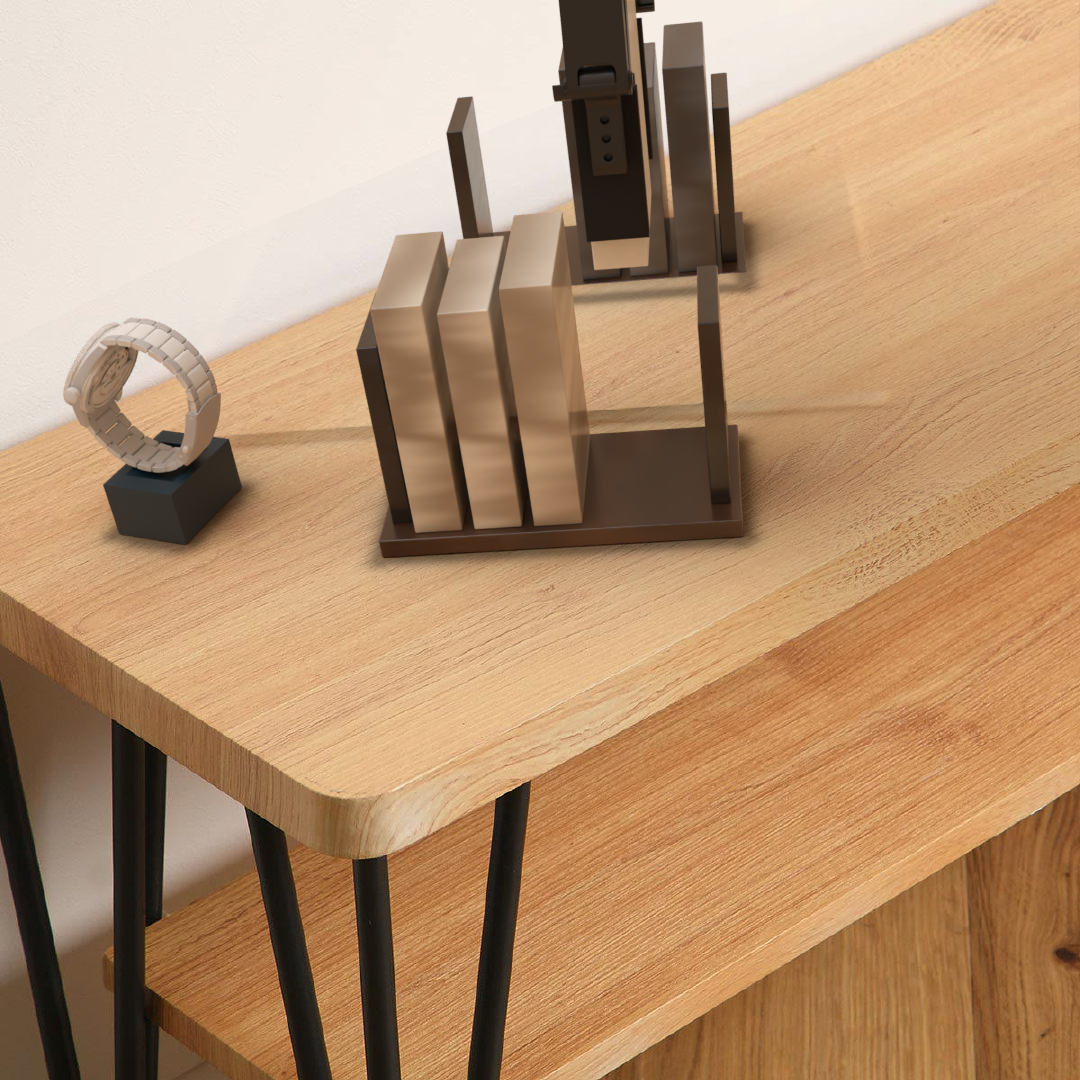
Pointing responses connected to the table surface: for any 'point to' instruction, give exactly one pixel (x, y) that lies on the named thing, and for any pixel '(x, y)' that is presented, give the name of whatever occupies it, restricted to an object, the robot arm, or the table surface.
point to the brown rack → (525, 409)
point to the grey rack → (694, 224)
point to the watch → (171, 457)
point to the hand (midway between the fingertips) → (621, 194)
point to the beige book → (638, 248)
